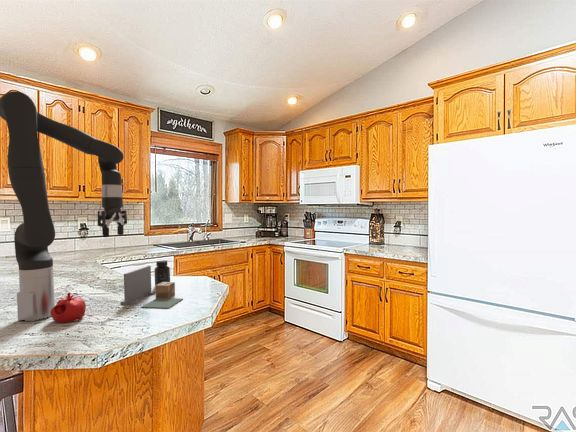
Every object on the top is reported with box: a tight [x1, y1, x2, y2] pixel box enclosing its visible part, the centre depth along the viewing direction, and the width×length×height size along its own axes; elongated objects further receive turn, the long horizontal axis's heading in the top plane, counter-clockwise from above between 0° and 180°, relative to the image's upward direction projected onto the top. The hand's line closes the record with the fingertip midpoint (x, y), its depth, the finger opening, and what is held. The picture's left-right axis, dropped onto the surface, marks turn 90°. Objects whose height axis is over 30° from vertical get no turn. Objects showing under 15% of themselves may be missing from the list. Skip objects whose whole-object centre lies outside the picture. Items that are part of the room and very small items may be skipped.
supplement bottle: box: [153, 259, 171, 288], centre depth 146 cm, size 7×7×12 cm
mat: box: [140, 297, 184, 310], centre depth 120 cm, size 11×11×1 cm
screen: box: [120, 265, 156, 306], centre depth 127 cm, size 16×5×12 cm, turn 172°
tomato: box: [50, 292, 87, 324], centre depth 104 cm, size 10×10×9 cm
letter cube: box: [155, 281, 176, 299], centre depth 130 cm, size 6×6×6 cm
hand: (113, 235), depth 127 cm, fingers open, 8 cm apart
